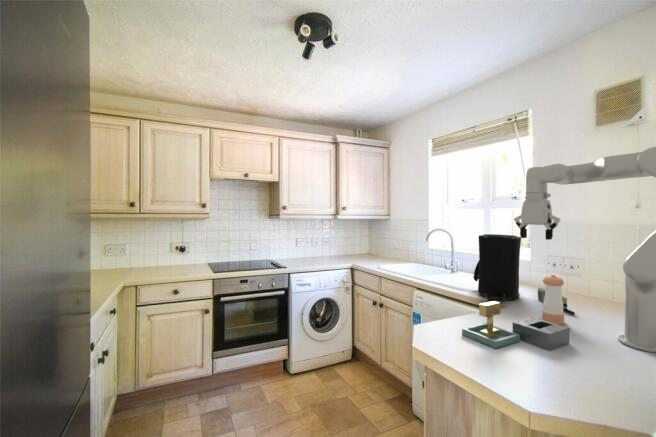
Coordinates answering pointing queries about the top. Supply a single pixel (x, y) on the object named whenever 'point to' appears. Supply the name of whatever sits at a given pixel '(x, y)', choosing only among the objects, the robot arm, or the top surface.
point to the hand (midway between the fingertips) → (535, 238)
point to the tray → (495, 343)
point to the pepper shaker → (553, 300)
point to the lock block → (542, 333)
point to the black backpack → (498, 267)
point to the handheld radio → (542, 294)
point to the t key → (489, 318)
